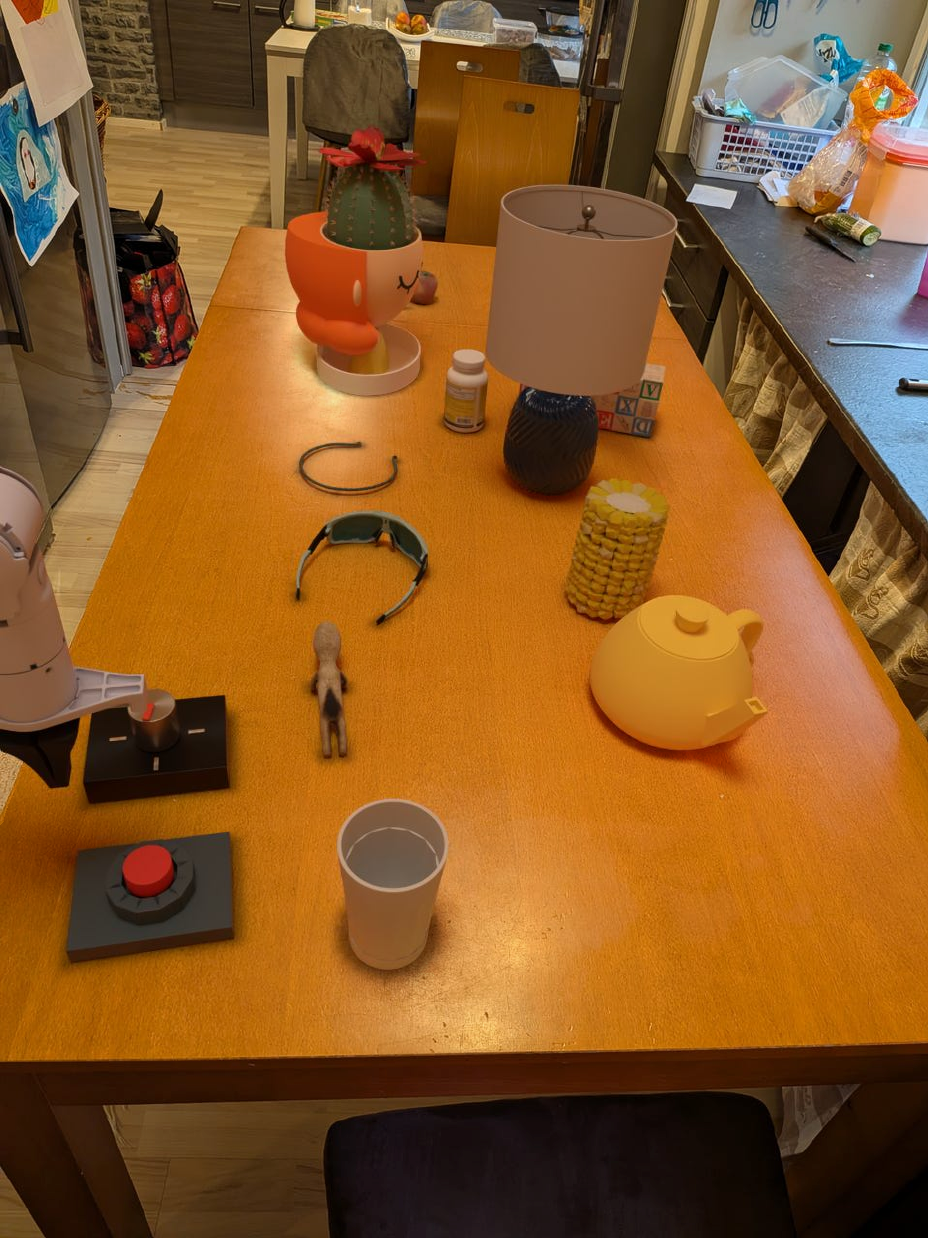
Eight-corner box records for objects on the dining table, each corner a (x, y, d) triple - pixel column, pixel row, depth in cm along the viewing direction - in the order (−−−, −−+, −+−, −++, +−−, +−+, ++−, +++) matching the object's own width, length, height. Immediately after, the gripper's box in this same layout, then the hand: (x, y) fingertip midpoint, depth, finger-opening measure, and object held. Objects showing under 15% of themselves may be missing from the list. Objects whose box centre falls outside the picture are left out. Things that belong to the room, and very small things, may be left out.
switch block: (70, 963, 68) (60, 938, 65) (82, 862, 74) (73, 836, 72) (233, 938, 70) (229, 914, 68) (231, 843, 77) (227, 818, 75)
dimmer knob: (140, 718, 83) (133, 685, 80) (185, 720, 83) (179, 687, 80) (129, 751, 80) (121, 718, 77) (175, 753, 80) (168, 720, 77)
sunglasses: (442, 557, 110) (442, 526, 107) (394, 641, 101) (393, 611, 97) (338, 527, 113) (335, 496, 110) (281, 606, 104) (276, 576, 100)
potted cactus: (427, 345, 157) (440, 123, 135) (408, 403, 140) (419, 160, 118) (307, 330, 158) (299, 106, 135) (273, 386, 141) (258, 141, 118)
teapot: (557, 667, 97) (577, 574, 89) (700, 631, 104) (730, 541, 95) (659, 808, 84) (693, 714, 75) (815, 756, 90) (862, 664, 82)
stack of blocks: (653, 420, 143) (671, 347, 135) (650, 439, 138) (668, 363, 130) (522, 396, 146) (532, 322, 138) (515, 413, 141) (525, 338, 133)
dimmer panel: (89, 804, 79) (82, 781, 77) (97, 728, 85) (91, 705, 83) (229, 788, 81) (226, 765, 79) (227, 716, 88) (224, 693, 86)
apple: (400, 306, 170) (401, 275, 166) (410, 292, 176) (412, 261, 172) (430, 312, 169) (432, 280, 165) (440, 297, 175) (442, 266, 171)
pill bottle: (469, 411, 140) (475, 343, 133) (491, 429, 136) (499, 360, 129) (435, 419, 137) (440, 350, 130) (456, 437, 134) (463, 367, 126)
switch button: (124, 900, 68) (120, 888, 67) (127, 861, 71) (124, 848, 70) (173, 894, 69) (170, 881, 68) (174, 855, 72) (172, 842, 71)
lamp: (470, 515, 118) (501, 223, 94) (473, 439, 134) (501, 172, 110) (622, 528, 119) (692, 242, 95) (608, 451, 134) (665, 188, 110)
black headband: (415, 467, 126) (416, 461, 125) (355, 507, 117) (355, 500, 116) (341, 435, 131) (341, 429, 130) (278, 470, 122) (278, 464, 121)
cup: (347, 990, 68) (347, 902, 60) (330, 899, 74) (328, 808, 66) (449, 968, 70) (461, 880, 62) (425, 880, 76) (433, 790, 68)
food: (554, 619, 106) (585, 579, 113) (651, 638, 100) (677, 594, 108) (548, 501, 98) (582, 466, 105) (653, 514, 92) (681, 476, 100)
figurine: (353, 765, 87) (342, 639, 96) (354, 743, 83) (342, 614, 92) (315, 769, 86) (307, 641, 95) (314, 746, 83) (306, 616, 91)
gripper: (138, 599, 64) (162, 729, 72) (-88, 613, 60) (-34, 747, 69) (131, 667, 58) (158, 798, 67) (-116, 686, 55) (-54, 821, 64)
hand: (60, 777), depth 68 cm, fingers closed
